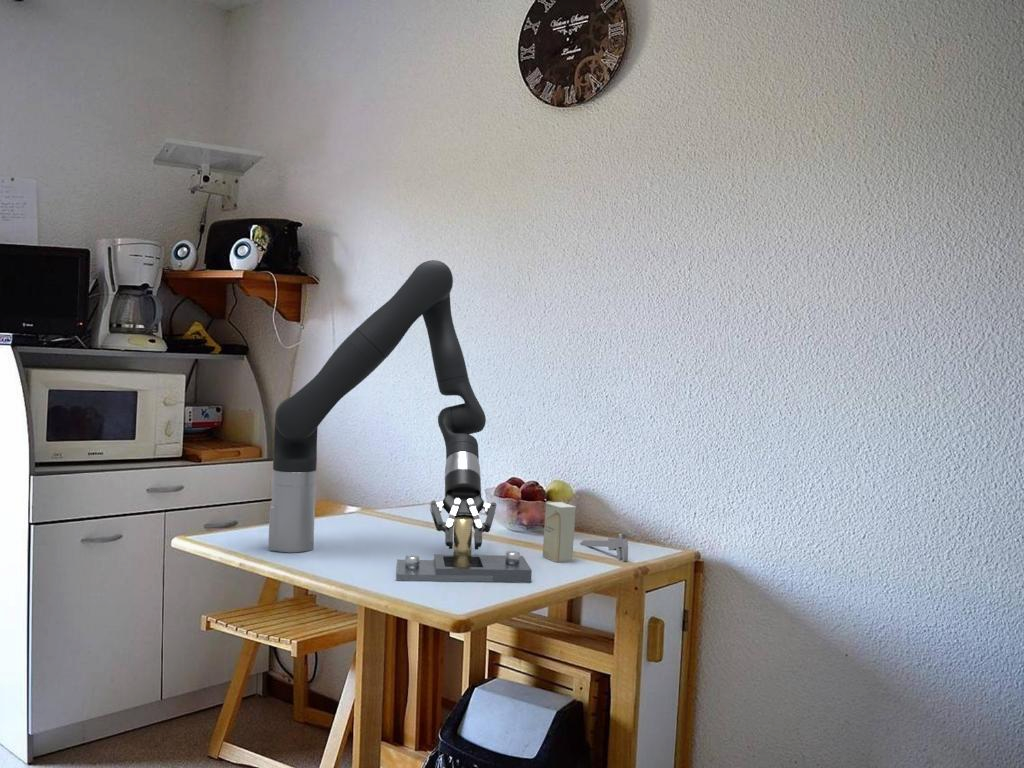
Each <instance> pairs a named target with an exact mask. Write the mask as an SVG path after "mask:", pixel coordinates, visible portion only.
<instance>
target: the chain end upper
mask: <svg viewBox="0 0 1024 768" xmlns="http://www.w3.org/2000/svg"><path fill="white" fill-rule="evenodd" d="M433 560H434V564H435V571H436V575H475V576H493V582H492V583H532V574H533V573H532V571H533V569H532V568H531V566H530V565H529V563H528V562H527V560H526V559H525V557H524V555H521V553H520V551H516V550H515V551H514V550H510V551H509V550H507V551H506V552H505V555H498V554H495V555H493V554H492V555H490V554H487V555H486V554H484V555H483V554H471V563H480V566H481V567H445V564H444V562H453V554H445V553H444V554H442V553H441V554H440V553H439V554H435V553H434V554H433Z"/></svg>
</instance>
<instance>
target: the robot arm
mask: <svg viewBox="0 0 1024 768" xmlns="http://www.w3.org/2000/svg"><path fill="white" fill-rule="evenodd" d="M453 285H454V277H453V273H452V271H451V269H450V267H449V266H448V265H447V264H446V263H445V262H443V261H440V260H438V259H437V260H433V259H432V260H427V261H424V262H422V263H419V265H417V267H416V268H415V269H414V270H413V272H412V273H411V274H410V275H409V277H408V278H407V279H406V281H405V282H404V283H403V284H402V285H401V286H400V287H399V289H398V290H397V291H396V292H395V293H394V295H393V296H392V297H391V298H390V299H389V300H387V301H386V302H385V303H384V304H383V305H382V306H380V307H379V308H378V309H377V310H375V311H374V312H373V313H372V314H371V315H370V316H369V317H367V318H366V319H365V320H364V321H363V322H361V324H359V326H357V327H356V329H354V330H353V331H352V332H351V333H350V335H348V336H347V337H346V339H344V340H343V342H342V343H341V344H339V346H338V347H337V348H336V349H335V351H333V353H332V354H331V355H330V357H329V358H328V360H327V361H326V362H325V364H324V365H323V366H322V367H321V369H320V370H319V372H317V374H316V375H315V376H314V377H313V378H312V379H311V380H310V381H309V382H308V383H306V384H305V385H304V386H302V387H301V389H300V390H298V391H297V392H296V393H294V394H293V395H292V396H290V397H287V398H285V399H284V400H282V401H281V402H280V403H279V404H278V406H277V408H276V410H275V414H274V430H273V431H274V435H273V438H274V439H273V454H272V455H273V457H272V463H273V464H272V483H271V484H272V486H271V487H272V488H271V489H272V490H271V492H272V493H271V505H270V507H269V517H268V518H269V522H268V523H269V524H268V546H267V551H274V552H280V553H301V552H302V553H303V552H308V551H311V550H313V549H314V541H315V538H314V537H315V536H314V535H315V519H316V518H315V513H316V512H315V511H316V492H317V464H318V463H317V462H318V456H317V455H318V452H317V451H318V427H319V425H320V424H321V423H322V422H323V420H324V419H325V418H326V417H327V416H328V414H329V413H330V412H331V410H332V409H334V407H335V406H336V404H337V403H338V402H340V400H341V399H343V398H344V397H345V396H346V395H348V393H349V392H351V391H352V390H353V389H355V388H356V387H357V386H358V385H360V384H361V383H362V382H363V381H365V380H366V379H367V378H368V376H370V375H371V374H372V373H373V372H374V371H375V370H376V369H377V368H378V367H379V366H380V365H381V364H382V363H383V362H384V361H385V360H386V359H387V358H388V357H389V356H390V355H391V353H393V351H394V350H395V349H396V348H397V346H398V345H399V343H400V342H401V341H402V339H404V337H405V335H407V332H408V331H409V330H410V328H411V327H412V325H413V324H414V323H415V322H416V321H417V320H419V318H420V317H421V316H422V317H423V321H424V324H425V328H426V332H427V337H428V340H429V347H430V351H431V358H432V362H433V363H432V364H433V369H434V373H435V377H436V383H437V386H438V391H439V393H440V394H441V395H442V396H447V397H449V396H451V397H452V396H458V397H460V398H461V399H463V401H464V403H459V404H455V405H452V406H447V407H444V408H443V409H441V411H440V412H439V414H438V416H437V423H438V427H439V429H440V432H441V435H442V437H443V440H444V445H445V454H446V455H445V457H446V458H445V468H444V498H443V500H442V501H439V502H437V501H436V500H431V502H430V507H429V508H430V509H429V510H430V514H431V517H432V520H433V523H434V526H435V529H436V531H438V532H444V534H445V535H444V536H445V543H444V544H445V546H446V547H448V550H453V549H454V518H457V517H469V518H472V529H473V530H474V533H473V535H474V537H473V538H474V541H473V542H474V544H473V545H474V550H479V548H481V547H482V545H483V534H484V532H485V533H489V532H490V531H491V528H492V525H493V522H494V516H495V514H496V510H497V503H496V502H494V501H493V502H491V503H487V502H485V501H484V499H483V497H482V482H481V481H482V480H481V479H482V478H481V466H480V460H479V458H480V456H479V444H478V440H477V438H476V437H475V436H473V435H474V434H478V433H480V432H481V431H483V430H484V428H485V426H486V422H487V420H486V419H487V418H486V414H485V411H484V410H483V407H482V406H481V404H480V402H479V400H478V399H477V396H476V394H475V392H474V391H473V390H474V389H473V388H472V385H471V382H470V378H469V374H468V371H467V365H466V361H465V357H464V354H463V353H464V352H463V351H462V347H461V343H460V341H459V338H458V336H457V333H456V329H455V325H454V322H453V316H452V315H453V314H452V309H451V308H452V307H451V292H452V289H453ZM472 434H473V435H472ZM443 509H444V510H445V512H446V513H447V515H448V518H447V520H446V522H445V521H443V517H442V515H441V513H442V510H443ZM482 510H484V513H485V514H486V518H485V522H482V521H481V519H480V512H481V511H482Z"/></svg>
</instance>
